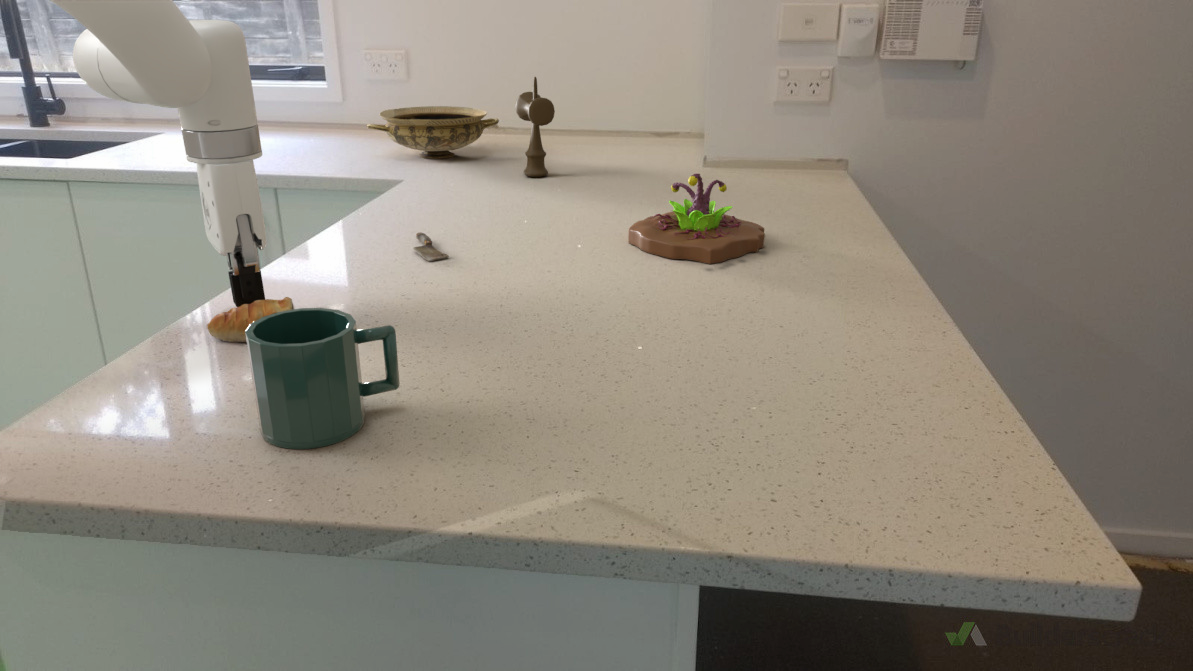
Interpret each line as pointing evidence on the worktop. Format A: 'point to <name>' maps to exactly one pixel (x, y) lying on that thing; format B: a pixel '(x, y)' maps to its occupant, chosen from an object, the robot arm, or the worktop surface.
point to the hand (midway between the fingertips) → (249, 303)
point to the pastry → (244, 318)
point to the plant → (697, 229)
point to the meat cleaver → (428, 249)
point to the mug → (314, 375)
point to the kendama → (535, 127)
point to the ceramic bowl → (434, 128)
